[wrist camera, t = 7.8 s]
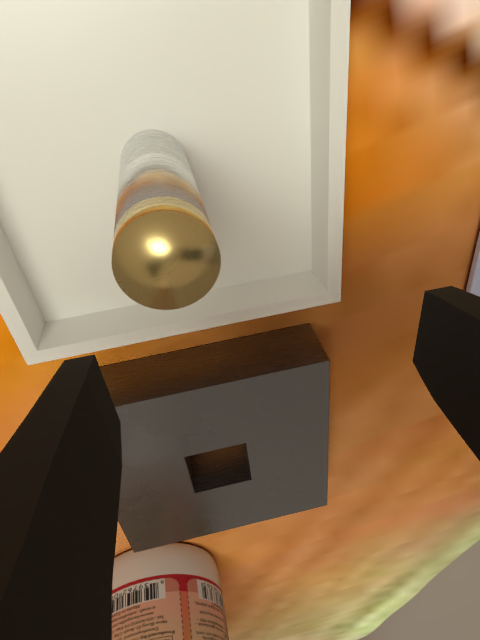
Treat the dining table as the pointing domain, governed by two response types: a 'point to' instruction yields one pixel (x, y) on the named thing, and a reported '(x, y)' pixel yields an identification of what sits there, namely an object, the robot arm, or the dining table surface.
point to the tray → (199, 146)
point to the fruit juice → (167, 595)
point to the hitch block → (221, 435)
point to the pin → (161, 226)
